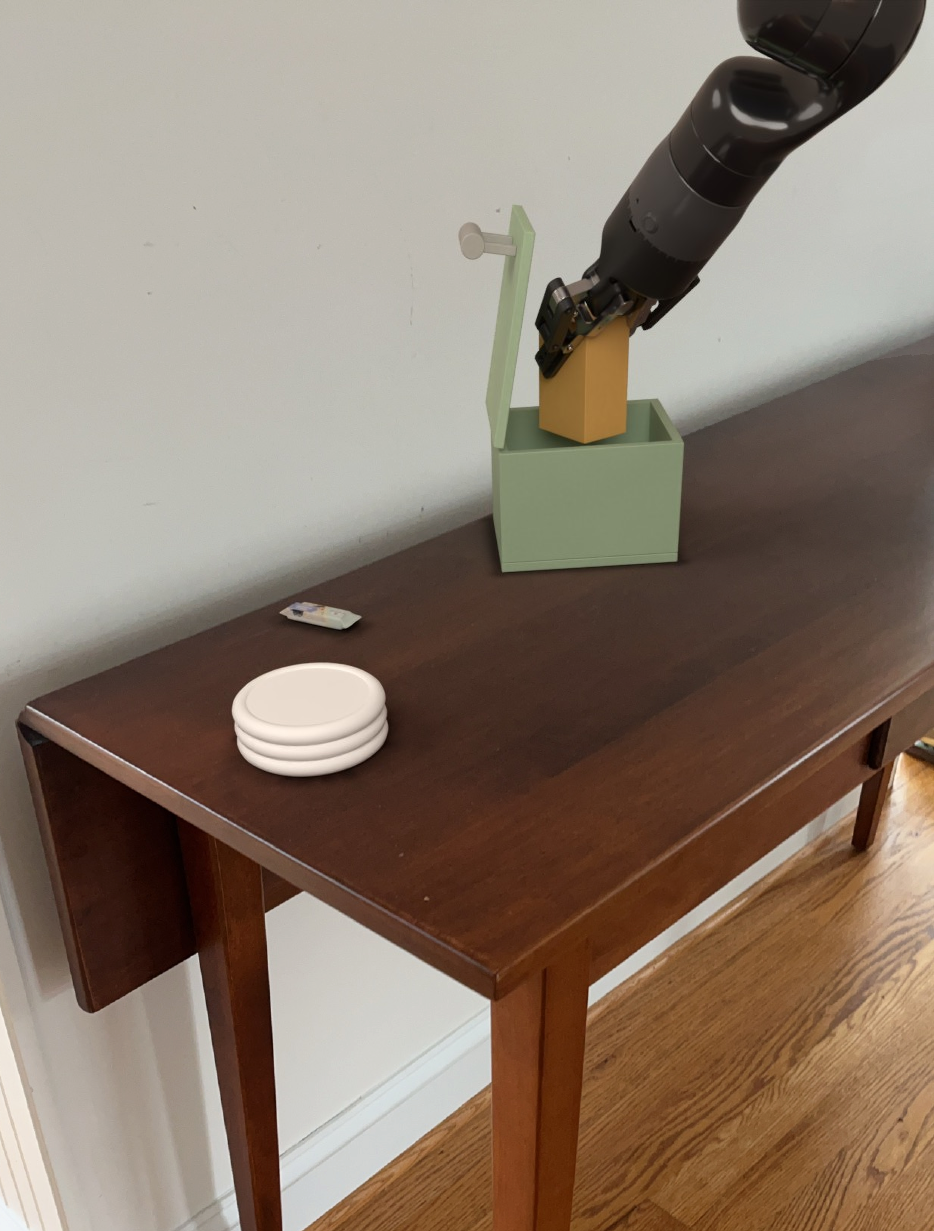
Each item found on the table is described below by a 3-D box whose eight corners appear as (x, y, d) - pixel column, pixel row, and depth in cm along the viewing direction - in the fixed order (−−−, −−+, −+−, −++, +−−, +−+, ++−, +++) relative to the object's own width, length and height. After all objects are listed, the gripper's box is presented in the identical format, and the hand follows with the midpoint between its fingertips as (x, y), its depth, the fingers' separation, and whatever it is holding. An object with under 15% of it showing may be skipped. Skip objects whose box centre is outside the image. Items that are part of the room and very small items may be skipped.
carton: (579, 417, 108) (581, 304, 103) (626, 432, 104) (630, 315, 98) (538, 428, 106) (538, 313, 101) (584, 444, 102) (586, 325, 97)
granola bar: (365, 612, 98) (339, 624, 96) (366, 626, 98) (340, 639, 96) (301, 591, 101) (274, 603, 99) (302, 605, 102) (276, 617, 100)
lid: (522, 205, 100) (459, 197, 100) (535, 232, 90) (466, 223, 90) (494, 404, 109) (436, 397, 109) (503, 449, 99) (440, 442, 99)
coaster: (313, 797, 78) (306, 747, 76) (207, 750, 84) (198, 703, 82) (419, 731, 84) (416, 684, 82) (314, 692, 90) (308, 646, 88)
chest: (653, 509, 115) (658, 398, 109) (677, 561, 105) (684, 442, 99) (493, 519, 115) (489, 409, 110) (502, 572, 105) (498, 454, 99)
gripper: (729, 153, 91) (614, 308, 107) (574, 177, 85) (476, 338, 100) (776, 242, 91) (653, 385, 106) (624, 274, 84) (517, 421, 100)
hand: (567, 362), depth 103 cm, fingers closed on carton, 4 cm apart
